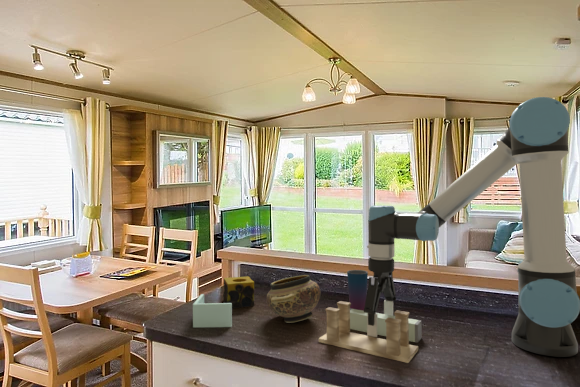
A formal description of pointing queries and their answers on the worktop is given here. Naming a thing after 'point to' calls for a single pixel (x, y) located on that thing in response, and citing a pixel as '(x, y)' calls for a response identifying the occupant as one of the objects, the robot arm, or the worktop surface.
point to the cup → (357, 288)
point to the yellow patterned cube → (239, 291)
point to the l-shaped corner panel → (211, 314)
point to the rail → (383, 324)
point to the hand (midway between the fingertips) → (380, 328)
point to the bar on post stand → (389, 348)
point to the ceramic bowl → (293, 298)
